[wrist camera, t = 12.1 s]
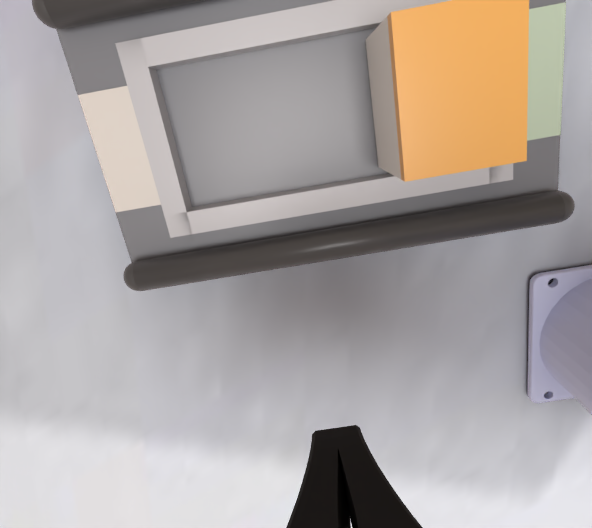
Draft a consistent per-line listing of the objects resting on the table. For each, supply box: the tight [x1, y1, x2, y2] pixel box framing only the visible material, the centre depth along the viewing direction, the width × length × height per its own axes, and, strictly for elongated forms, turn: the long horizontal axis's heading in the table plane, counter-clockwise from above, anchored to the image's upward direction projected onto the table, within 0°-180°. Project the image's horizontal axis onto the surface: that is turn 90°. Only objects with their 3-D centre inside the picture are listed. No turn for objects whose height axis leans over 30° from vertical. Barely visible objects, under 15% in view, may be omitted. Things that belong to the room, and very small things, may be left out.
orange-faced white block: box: [366, 0, 529, 182], centre depth 15 cm, size 4×5×4 cm
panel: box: [32, 0, 574, 291], centre depth 18 cm, size 20×13×3 cm, turn 100°
